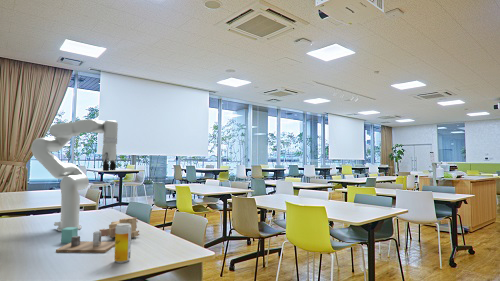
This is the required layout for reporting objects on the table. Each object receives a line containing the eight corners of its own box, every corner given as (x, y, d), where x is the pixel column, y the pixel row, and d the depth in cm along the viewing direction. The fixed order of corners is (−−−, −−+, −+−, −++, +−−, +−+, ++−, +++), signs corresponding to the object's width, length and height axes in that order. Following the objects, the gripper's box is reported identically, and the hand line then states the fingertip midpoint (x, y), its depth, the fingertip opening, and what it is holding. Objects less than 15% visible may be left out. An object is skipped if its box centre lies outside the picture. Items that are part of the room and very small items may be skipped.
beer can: (117, 258, 132) (118, 222, 133) (132, 258, 132) (133, 222, 133) (112, 263, 126) (113, 225, 127) (127, 263, 126) (128, 225, 127)
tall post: (92, 246, 146) (93, 232, 146) (95, 244, 148) (96, 231, 148) (98, 246, 146) (98, 232, 146) (101, 244, 148) (101, 231, 149)
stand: (55, 252, 140) (56, 240, 140) (72, 243, 154) (73, 233, 154) (105, 252, 140) (105, 240, 140) (117, 244, 154) (118, 233, 154)
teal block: (61, 242, 155) (61, 229, 155) (67, 240, 160) (67, 227, 160) (71, 243, 155) (72, 229, 155) (77, 240, 160) (77, 227, 160)
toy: (146, 214, 174) (117, 217, 180) (120, 221, 155) (89, 224, 161) (147, 232, 173) (118, 235, 179) (122, 241, 154) (91, 243, 160)
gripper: (109, 142, 193) (108, 169, 192) (97, 140, 176) (96, 171, 175) (122, 142, 194) (121, 170, 193) (110, 140, 176) (109, 171, 175)
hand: (109, 170), depth 184 cm, fingers open, 9 cm apart
